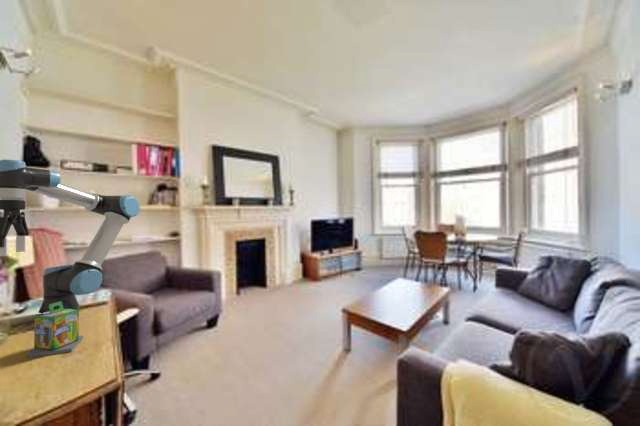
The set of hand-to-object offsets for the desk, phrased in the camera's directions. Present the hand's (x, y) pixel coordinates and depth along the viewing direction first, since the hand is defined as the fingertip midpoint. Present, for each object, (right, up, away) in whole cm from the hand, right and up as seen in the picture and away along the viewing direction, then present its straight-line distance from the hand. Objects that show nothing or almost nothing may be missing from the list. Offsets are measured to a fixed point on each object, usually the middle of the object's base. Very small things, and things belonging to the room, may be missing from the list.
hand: (11, 253), depth 117 cm
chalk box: (+26, -32, -9) cm, 42 cm away
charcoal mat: (+26, -33, -9) cm, 43 cm away
